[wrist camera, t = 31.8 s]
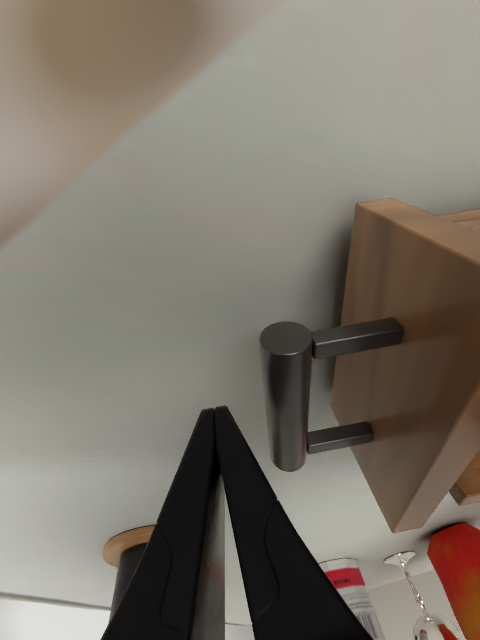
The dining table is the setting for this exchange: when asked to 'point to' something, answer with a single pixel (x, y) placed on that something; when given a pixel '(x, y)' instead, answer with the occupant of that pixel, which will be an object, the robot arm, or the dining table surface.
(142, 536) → the coaster
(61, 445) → the dining table surface
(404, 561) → the wineglass
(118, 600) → the spice tin
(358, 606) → the spray bottle
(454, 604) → the apple
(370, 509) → the dining table surface
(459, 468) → the drawer
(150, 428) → the dining table surface
